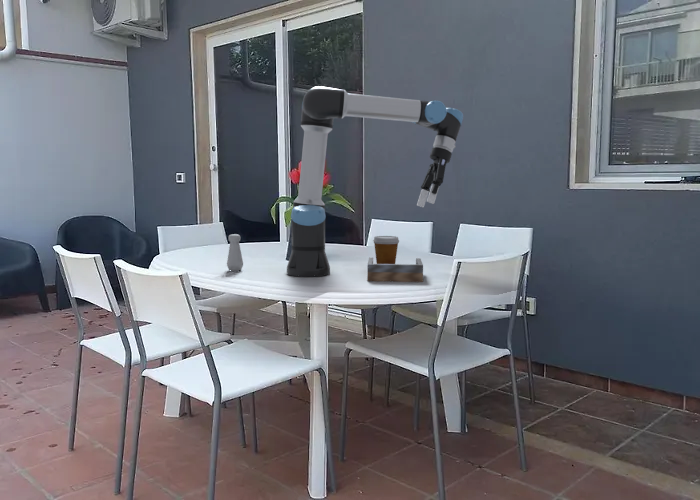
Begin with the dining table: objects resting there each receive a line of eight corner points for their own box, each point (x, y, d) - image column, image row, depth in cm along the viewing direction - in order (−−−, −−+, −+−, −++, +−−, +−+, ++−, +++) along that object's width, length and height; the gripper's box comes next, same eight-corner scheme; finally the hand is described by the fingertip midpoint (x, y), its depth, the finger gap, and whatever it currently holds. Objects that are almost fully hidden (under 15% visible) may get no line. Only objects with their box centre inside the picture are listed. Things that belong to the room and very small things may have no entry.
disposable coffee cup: (397, 272, 214) (397, 238, 212) (370, 271, 216) (371, 238, 214) (400, 268, 223) (400, 236, 221) (375, 267, 225) (375, 235, 223)
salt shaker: (246, 269, 217) (246, 234, 215) (237, 272, 212) (236, 235, 210) (233, 268, 219) (232, 233, 218) (223, 271, 214) (222, 234, 212)
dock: (367, 281, 196) (367, 264, 195) (368, 273, 212) (368, 257, 211) (422, 282, 195) (423, 265, 194) (420, 273, 211) (420, 258, 210)
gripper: (463, 147, 209) (444, 204, 208) (441, 159, 234) (425, 210, 232) (443, 139, 208) (424, 197, 207) (423, 152, 233) (407, 204, 231)
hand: (425, 204), depth 219 cm, fingers open, 13 cm apart
